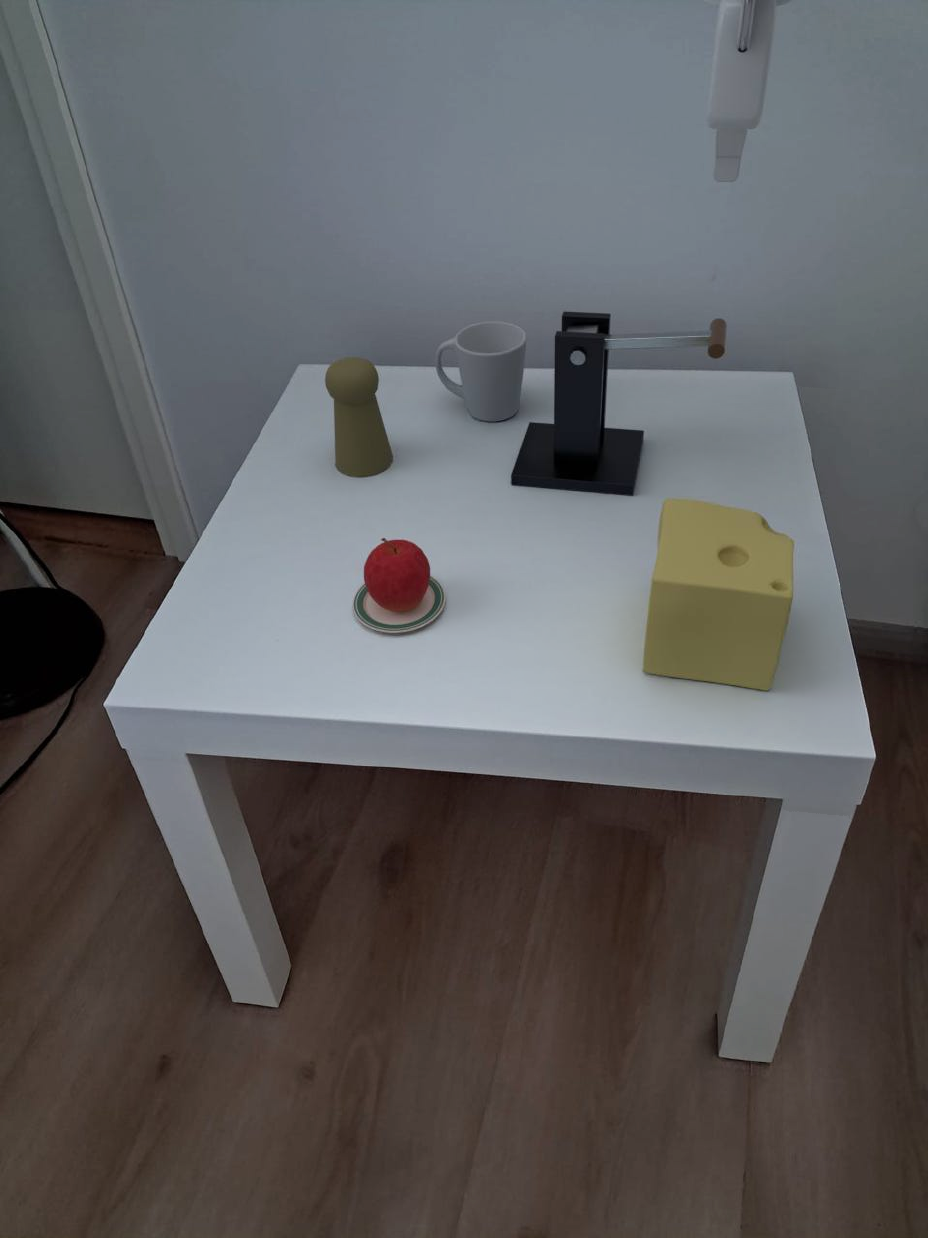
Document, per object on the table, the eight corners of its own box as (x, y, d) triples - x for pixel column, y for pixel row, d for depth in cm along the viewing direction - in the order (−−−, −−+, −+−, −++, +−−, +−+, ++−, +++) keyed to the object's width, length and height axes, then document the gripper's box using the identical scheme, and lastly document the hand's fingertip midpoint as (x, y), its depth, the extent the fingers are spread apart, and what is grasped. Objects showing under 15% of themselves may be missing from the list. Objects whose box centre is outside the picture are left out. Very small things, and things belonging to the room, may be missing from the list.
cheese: (778, 606, 78) (801, 508, 71) (773, 700, 70) (798, 601, 64) (652, 589, 80) (662, 493, 73) (634, 678, 73) (644, 580, 66)
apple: (365, 571, 84) (356, 513, 80) (453, 577, 83) (448, 518, 78) (343, 633, 78) (331, 573, 74) (436, 640, 77) (430, 579, 73)
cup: (519, 430, 100) (517, 356, 94) (430, 422, 102) (423, 349, 97) (534, 394, 105) (533, 323, 100) (449, 387, 108) (443, 317, 102)
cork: (333, 449, 99) (316, 353, 92) (389, 441, 100) (377, 345, 93) (337, 480, 95) (320, 383, 88) (396, 472, 96) (384, 374, 88)
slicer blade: (726, 337, 85) (727, 312, 84) (724, 363, 82) (725, 337, 80) (572, 342, 89) (570, 318, 88) (564, 368, 86) (562, 343, 84)
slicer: (643, 440, 97) (654, 303, 87) (633, 495, 90) (644, 354, 80) (529, 431, 100) (528, 297, 90) (511, 485, 93) (507, 346, 83)
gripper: (807, -33, 56) (769, 207, 65) (800, -82, 70) (769, 120, 80) (699, -30, 57) (676, 204, 66) (713, -79, 71) (693, 119, 81)
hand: (727, 158), depth 73 cm, fingers open, 8 cm apart
